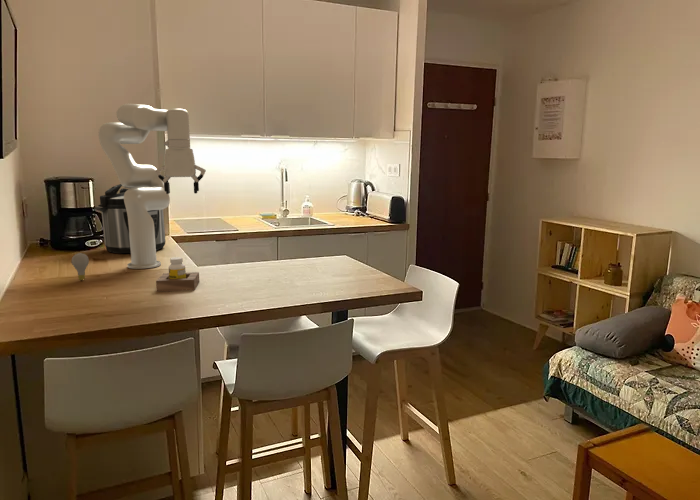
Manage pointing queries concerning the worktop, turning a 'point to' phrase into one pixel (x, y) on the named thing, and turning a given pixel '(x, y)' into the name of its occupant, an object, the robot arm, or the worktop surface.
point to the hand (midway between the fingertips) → (182, 193)
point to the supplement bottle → (177, 268)
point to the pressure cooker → (124, 222)
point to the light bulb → (80, 264)
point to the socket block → (177, 282)
